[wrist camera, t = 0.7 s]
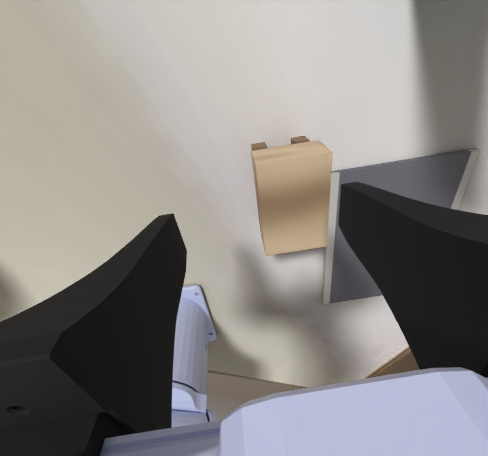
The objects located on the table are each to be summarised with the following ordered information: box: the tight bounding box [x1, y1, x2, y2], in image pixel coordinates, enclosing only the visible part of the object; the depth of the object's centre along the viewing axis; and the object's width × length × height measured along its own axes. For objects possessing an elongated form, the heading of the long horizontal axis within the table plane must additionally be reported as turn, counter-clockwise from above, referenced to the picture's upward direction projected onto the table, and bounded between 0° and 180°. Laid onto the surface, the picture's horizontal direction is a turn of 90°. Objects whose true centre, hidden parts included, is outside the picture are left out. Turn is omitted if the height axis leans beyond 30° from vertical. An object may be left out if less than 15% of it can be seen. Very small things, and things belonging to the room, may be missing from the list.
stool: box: [251, 136, 332, 256], centre depth 19 cm, size 7×4×5 cm, turn 8°
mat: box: [322, 149, 481, 305], centre depth 25 cm, size 16×12×1 cm
